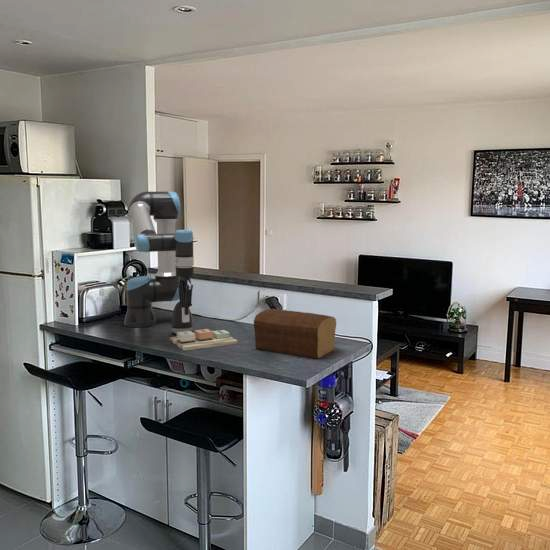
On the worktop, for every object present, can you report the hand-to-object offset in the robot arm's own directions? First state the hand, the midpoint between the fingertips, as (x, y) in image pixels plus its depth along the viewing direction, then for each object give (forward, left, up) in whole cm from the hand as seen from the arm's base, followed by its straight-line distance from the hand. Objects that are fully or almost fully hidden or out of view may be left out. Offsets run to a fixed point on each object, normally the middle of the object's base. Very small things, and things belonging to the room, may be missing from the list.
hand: (185, 321), depth 245 cm
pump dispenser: (-19, +5, -10) cm, 22 cm away
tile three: (0, +16, -9) cm, 18 cm away
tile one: (0, 0, -8) cm, 8 cm away
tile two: (0, +8, -8) cm, 11 cm away
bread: (+28, +37, -10) cm, 48 cm away
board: (0, +8, -10) cm, 13 cm away
